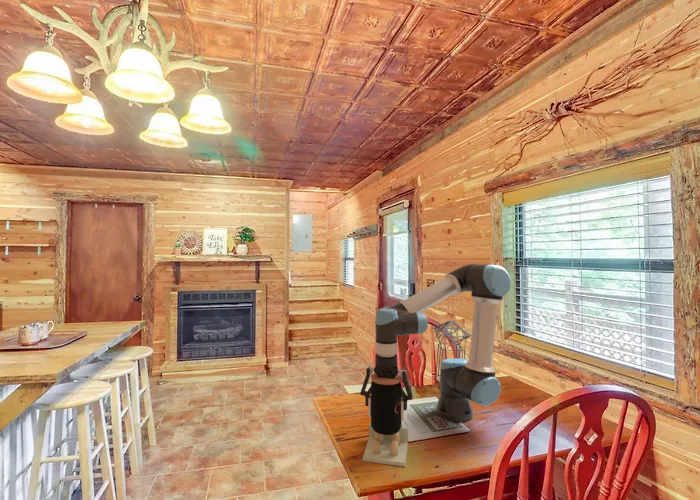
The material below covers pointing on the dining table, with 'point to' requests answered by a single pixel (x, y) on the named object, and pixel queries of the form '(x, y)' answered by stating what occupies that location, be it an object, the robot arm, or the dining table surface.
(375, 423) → the coffee jar
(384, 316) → the robot arm
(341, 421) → the dining table surface
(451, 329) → the geometric lantern
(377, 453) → the peg stand
